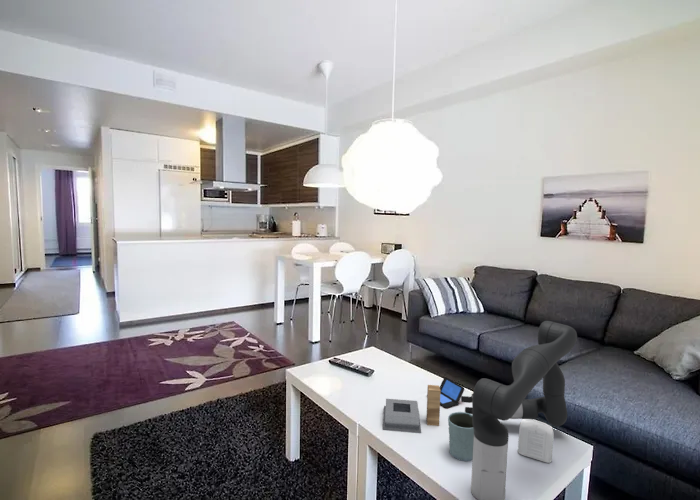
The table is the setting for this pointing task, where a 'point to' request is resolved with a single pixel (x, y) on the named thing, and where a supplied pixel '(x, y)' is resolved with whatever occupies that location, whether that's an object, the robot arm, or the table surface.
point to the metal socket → (401, 416)
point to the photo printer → (535, 440)
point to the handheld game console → (450, 393)
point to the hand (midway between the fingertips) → (463, 404)
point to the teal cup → (461, 435)
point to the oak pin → (433, 405)
